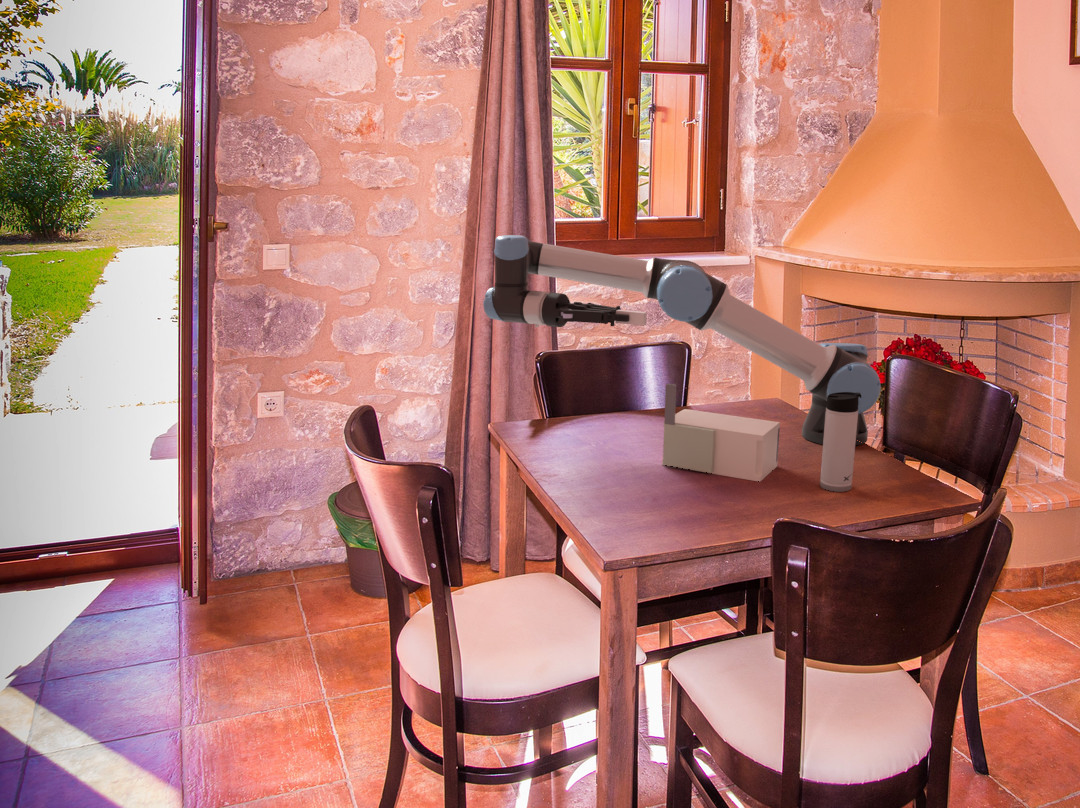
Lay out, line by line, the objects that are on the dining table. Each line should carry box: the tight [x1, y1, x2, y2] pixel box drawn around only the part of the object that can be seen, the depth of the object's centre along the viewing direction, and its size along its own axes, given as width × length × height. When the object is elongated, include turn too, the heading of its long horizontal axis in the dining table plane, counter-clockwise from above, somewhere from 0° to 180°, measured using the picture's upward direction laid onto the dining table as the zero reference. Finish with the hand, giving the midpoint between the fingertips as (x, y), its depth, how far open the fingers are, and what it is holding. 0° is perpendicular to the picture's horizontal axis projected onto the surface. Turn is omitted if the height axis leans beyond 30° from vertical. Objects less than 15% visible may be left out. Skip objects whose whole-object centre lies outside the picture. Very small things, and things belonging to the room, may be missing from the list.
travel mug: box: [819, 392, 861, 493], centre depth 202 cm, size 6×7×20 cm
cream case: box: [661, 408, 781, 483], centre depth 217 cm, size 22×12×10 cm, turn 61°
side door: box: [662, 383, 715, 474], centre depth 212 cm, size 11×1×18 cm, turn 61°
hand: (645, 319), depth 212 cm, fingers closed
